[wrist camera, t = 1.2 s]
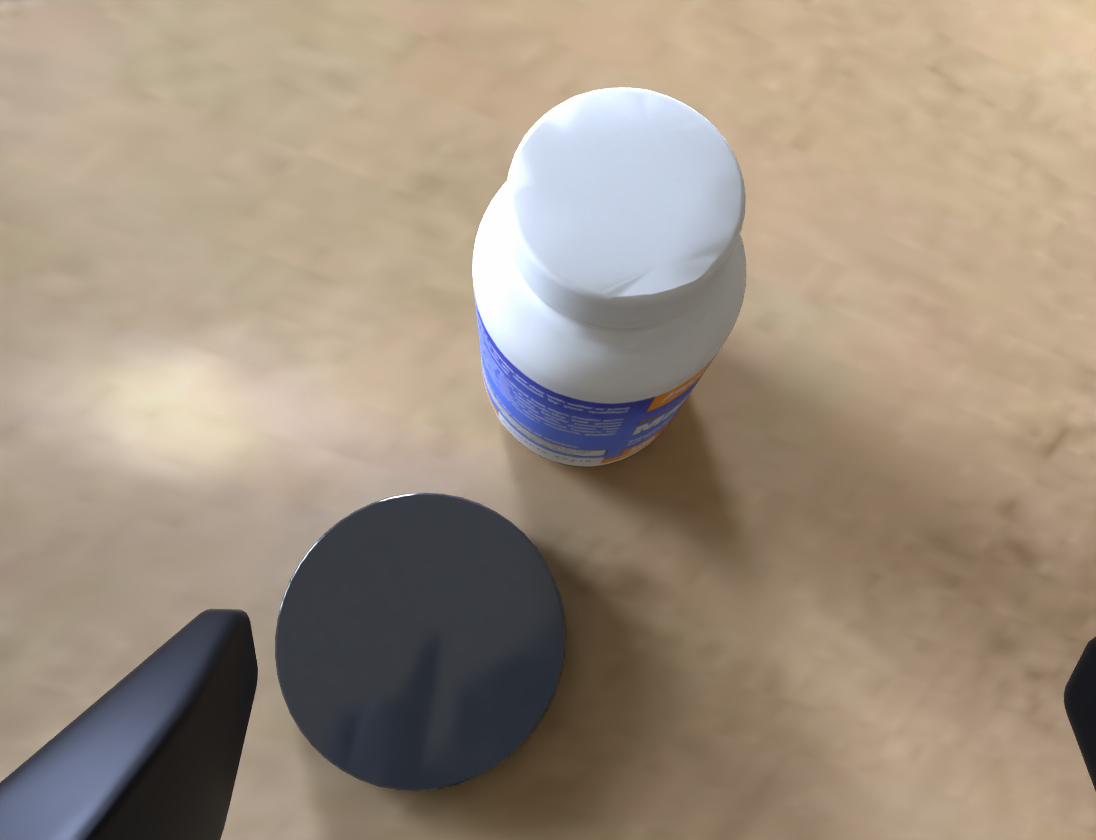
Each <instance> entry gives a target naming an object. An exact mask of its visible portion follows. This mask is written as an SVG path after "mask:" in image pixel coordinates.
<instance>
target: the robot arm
mask: <svg viewBox="0 0 1096 840" xmlns="http://www.w3.org/2000/svg"><path fill="white" fill-rule="evenodd" d="M257 676H258V667H257V660H256V654H255V648H254V642H253V636H252V630H251V624H250V620H249V617H248V615H247V613H246V612H244V611H242V610H234V609H208V610H205V611H204V612H202V613H200V614H199V615H198V616H197V617H195V618H194V619H193V620H192V621H191V622H189V623H188V624H187V625H186V626H185V627H184V628H182V629H181V630H180V631H179V632H178V633H176V634H175V635H174V636H173V637H172V638H171V639H169V640H168V641H167V642H166V643H165V644H163V645H162V646H161V647H160V648H159V649H158V650H156V651H155V652H154V653H153V654H152V655H150V656H149V657H148V658H147V659H146V660H145V661H143V662H142V663H141V664H140V665H139V666H137V667H136V668H135V669H134V670H133V671H132V672H130V673H129V674H128V675H127V676H126V677H125V678H123V679H122V680H121V681H120V682H119V683H117V684H116V685H115V686H114V687H113V688H112V689H110V690H109V691H108V692H107V693H106V694H104V695H103V696H102V697H101V698H100V699H99V700H97V701H96V702H95V703H94V704H93V705H91V706H90V707H89V708H88V709H87V710H86V711H84V712H83V713H82V714H81V715H80V716H78V717H77V718H76V719H75V720H74V721H73V722H71V723H70V724H69V725H68V726H67V727H65V728H64V729H63V730H62V731H61V732H60V733H58V734H57V735H56V736H55V737H54V738H53V739H51V740H50V741H49V742H48V743H47V744H45V745H44V746H43V747H42V748H41V749H40V750H38V751H37V752H36V753H35V754H34V755H32V756H31V757H30V758H29V759H28V760H27V761H25V762H24V763H23V764H22V765H21V766H19V767H18V768H17V769H16V770H15V771H14V772H12V773H11V774H10V775H9V776H8V777H6V778H5V779H4V780H3V781H2V782H1V783H0V840H220V839H221V836H222V832H223V829H224V826H225V822H226V818H227V813H228V809H229V805H230V801H231V797H232V792H233V788H234V783H235V779H236V775H237V770H238V766H239V761H240V757H241V753H242V748H243V744H244V739H245V735H246V731H247V726H248V722H249V717H250V713H251V709H252V704H253V700H254V695H255V691H256V686H257ZM1064 704H1065V709H1066V713H1067V716H1068V718H1069V721H1070V724H1071V726H1072V729H1073V732H1074V734H1075V737H1076V740H1077V742H1078V745H1079V748H1080V750H1081V753H1082V756H1083V758H1084V761H1085V764H1086V766H1087V769H1088V772H1089V775H1090V777H1091V780H1092V783H1093V785H1094V788H1095V791H1096V637H1095V638H1093V639H1092V640H1090V641H1089V642H1088V644H1087V645H1086V647H1085V649H1084V651H1083V653H1082V655H1081V657H1080V659H1079V661H1078V663H1077V665H1076V667H1075V669H1074V671H1073V673H1072V675H1071V677H1070V679H1069V681H1068V682H1067V685H1066V687H1065V692H1064Z"/></svg>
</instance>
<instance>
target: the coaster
mask: <svg viewBox="0 0 1096 840" xmlns="http://www.w3.org/2000/svg"><path fill="white" fill-rule="evenodd" d="M565 646H566V627H565V615H564V610H563V605H562V600H561V596H560V593H559V590H558V588H557V585H556V582H555V579H554V577H553V575H552V573H551V571H550V569H549V567H548V565H547V563H546V561H545V560H544V558H543V557H542V555H541V554H540V552H539V551H538V549H537V548H536V547H535V545H534V544H533V543H532V542H531V541H530V540H529V539H528V537H527V536H526V535H525V534H524V533H523V532H522V531H521V530H519V529H518V528H517V527H516V526H515V525H514V524H513V523H512V522H510V521H509V520H507V519H506V518H504V517H503V516H501V515H500V514H498V513H497V512H495V511H493V510H491V509H489V508H487V507H485V506H483V505H481V504H479V503H476V502H473V501H470V500H468V499H465V498H461V497H456V496H451V495H446V494H436V493H415V494H405V495H400V496H395V497H389V498H386V499H383V500H380V501H377V502H374V503H371V504H369V505H367V506H365V507H363V508H361V509H359V510H357V511H355V512H353V513H351V514H350V515H348V516H347V517H345V518H344V519H342V520H340V521H339V522H338V523H337V524H335V525H334V526H333V527H332V528H330V529H329V530H328V531H327V532H326V533H324V534H323V536H322V537H321V538H320V539H319V540H318V541H317V542H316V543H315V544H314V545H313V546H312V547H311V548H310V550H309V551H308V553H307V554H306V555H305V557H304V558H303V559H302V561H301V562H300V564H299V565H298V567H297V569H296V571H295V573H294V574H293V576H292V578H291V580H290V582H289V584H288V587H287V589H286V592H285V594H284V597H283V600H282V604H281V607H280V611H279V615H278V620H277V627H276V635H275V659H276V667H277V675H278V679H279V683H280V687H281V691H282V695H283V697H284V700H285V702H286V705H287V707H288V709H289V712H290V714H291V716H292V717H293V719H294V721H295V723H296V724H297V726H298V728H299V729H300V731H301V732H302V733H303V735H304V736H305V737H306V739H307V740H308V741H309V742H310V744H311V745H312V746H313V747H314V748H315V749H316V750H317V751H318V752H319V753H320V754H321V755H322V756H323V757H324V758H325V759H327V760H328V761H329V762H331V763H332V764H334V765H335V766H336V767H338V768H339V769H340V770H342V771H344V772H346V773H347V774H349V775H351V776H353V777H355V778H357V779H359V780H361V781H364V782H367V783H370V784H373V785H376V786H379V787H384V788H389V789H394V790H402V791H428V790H438V789H443V788H447V787H451V786H456V785H459V784H461V783H464V782H467V781H470V780H472V779H475V778H477V777H479V776H481V775H482V774H484V773H486V772H488V771H490V770H492V769H493V768H495V767H496V766H498V765H499V764H500V763H502V762H503V761H505V760H506V759H507V758H509V757H510V756H511V755H512V754H513V753H514V752H515V751H516V750H517V749H518V748H520V747H521V746H522V745H523V744H524V743H525V741H526V740H527V739H528V738H529V737H530V735H531V734H532V733H533V732H534V730H535V729H536V728H537V726H538V725H539V723H540V722H541V720H542V719H543V717H544V715H545V714H546V712H547V710H548V708H549V706H550V704H551V702H552V700H553V697H554V695H555V693H556V690H557V687H558V684H559V680H560V677H561V674H562V669H563V663H564V658H565Z"/></svg>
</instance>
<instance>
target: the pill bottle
mask: <svg viewBox="0 0 1096 840" xmlns="http://www.w3.org/2000/svg"><path fill="white" fill-rule="evenodd" d="M744 215H745V188H744V181H743V177H742V173H741V170H740V167H739V164H738V162H737V159H736V157H735V155H734V153H733V151H732V149H731V148H730V146H729V144H728V142H727V141H726V140H725V139H724V137H723V136H722V134H721V133H720V132H719V131H718V130H717V129H716V127H715V126H713V125H712V124H711V123H710V122H709V121H708V120H707V119H706V118H705V117H704V116H702V115H701V114H700V113H698V112H697V111H696V110H694V109H693V108H691V107H689V106H688V105H686V104H684V103H682V102H680V101H678V100H676V99H674V98H671V97H669V96H667V95H663V94H660V93H657V92H653V91H650V90H644V89H637V88H609V89H601V90H595V91H591V92H588V93H584V94H581V95H577V96H574V97H573V98H571V99H569V100H567V101H565V102H563V103H561V104H559V105H558V106H556V107H555V108H553V109H552V110H550V111H549V112H548V113H546V114H545V115H544V116H543V117H542V118H540V119H539V120H538V121H537V122H536V123H535V124H534V125H533V127H532V128H531V129H530V130H529V131H528V133H527V134H526V135H525V137H524V138H523V140H522V142H521V143H520V145H519V147H518V149H517V151H516V153H515V155H514V158H513V161H512V164H511V167H510V170H509V175H508V181H507V182H506V183H505V184H504V185H503V186H502V187H501V189H500V190H499V191H498V193H497V194H496V195H495V197H494V198H493V200H492V202H491V203H490V205H489V206H488V209H487V211H486V213H485V215H484V217H483V219H482V222H481V224H480V227H479V230H478V234H477V237H476V242H475V247H474V255H473V283H474V294H475V303H476V313H477V321H478V331H479V339H480V348H481V360H482V371H483V379H484V384H485V388H486V391H487V394H488V397H489V400H490V402H491V405H492V407H493V409H494V411H495V413H496V415H497V416H498V418H499V419H500V421H501V422H502V424H503V425H504V426H505V428H506V429H507V430H508V431H509V432H510V433H511V434H512V435H513V436H514V437H515V438H516V439H517V440H518V441H519V442H520V443H522V444H523V445H524V446H525V447H527V448H528V449H530V450H531V451H533V452H534V453H536V454H538V455H540V456H542V457H544V458H547V459H549V460H552V461H555V462H558V463H562V464H567V465H574V466H599V465H605V464H609V463H613V462H616V461H619V460H622V459H624V458H627V457H629V456H631V455H633V454H635V453H637V452H638V451H640V450H641V449H643V448H644V447H645V446H647V445H648V444H649V443H651V442H652V441H653V440H654V439H655V438H656V437H657V436H658V435H659V434H660V433H661V432H662V431H663V430H664V429H665V428H666V426H667V425H668V424H669V423H670V421H671V420H672V418H673V417H674V415H675V414H676V413H677V411H678V410H679V408H680V407H681V405H682V404H683V402H684V401H685V400H686V398H687V397H688V395H689V394H690V392H691V391H692V389H693V388H694V386H695V385H696V384H697V382H698V381H699V379H700V378H701V376H702V375H703V373H704V372H705V370H706V369H707V368H708V366H709V365H710V363H711V362H712V360H713V359H714V358H715V356H716V355H717V353H718V352H719V350H720V349H721V347H722V346H723V344H724V342H725V341H726V339H727V337H728V336H729V334H730V332H731V330H732V328H733V327H734V324H735V322H736V320H737V317H738V315H739V312H740V309H741V306H742V302H743V298H744V292H745V286H746V258H745V251H744V246H743V242H742V238H741V235H740V232H741V229H742V224H743V220H744Z"/></svg>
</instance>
